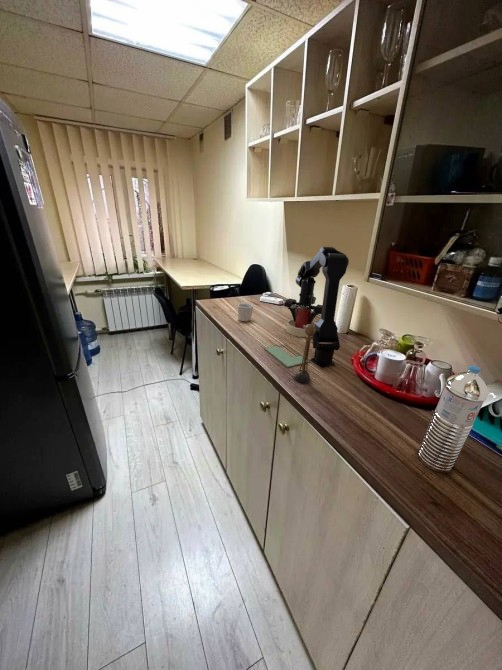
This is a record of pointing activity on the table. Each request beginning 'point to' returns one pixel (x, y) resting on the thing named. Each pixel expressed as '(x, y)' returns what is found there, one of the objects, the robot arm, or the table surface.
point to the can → (302, 317)
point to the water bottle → (452, 420)
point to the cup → (245, 311)
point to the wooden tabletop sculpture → (303, 374)
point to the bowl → (296, 329)
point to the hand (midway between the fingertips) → (302, 323)
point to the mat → (285, 356)
